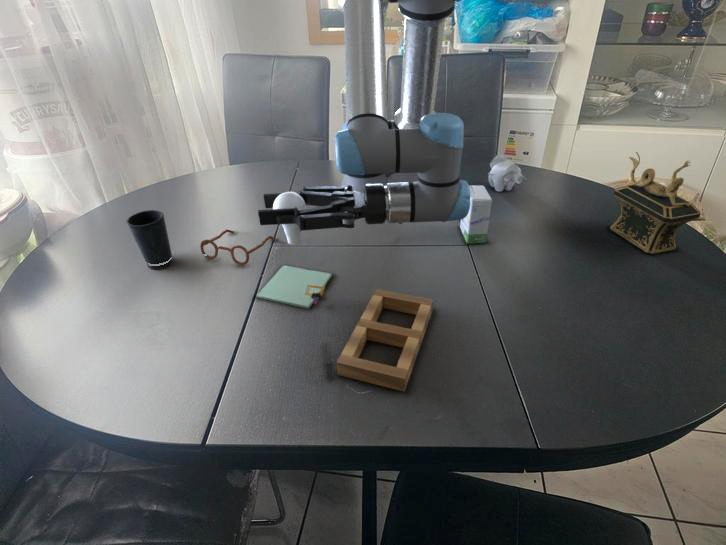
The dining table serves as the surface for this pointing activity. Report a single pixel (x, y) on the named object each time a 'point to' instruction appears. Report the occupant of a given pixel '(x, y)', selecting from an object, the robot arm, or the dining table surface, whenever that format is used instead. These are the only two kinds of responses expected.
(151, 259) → the cup
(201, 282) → the dining table surface
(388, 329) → the holder
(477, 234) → the ink box
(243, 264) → the glasses
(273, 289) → the mat
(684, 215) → the decorative box
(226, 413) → the dining table surface
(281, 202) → the lightbulb
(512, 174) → the elephant figurine
